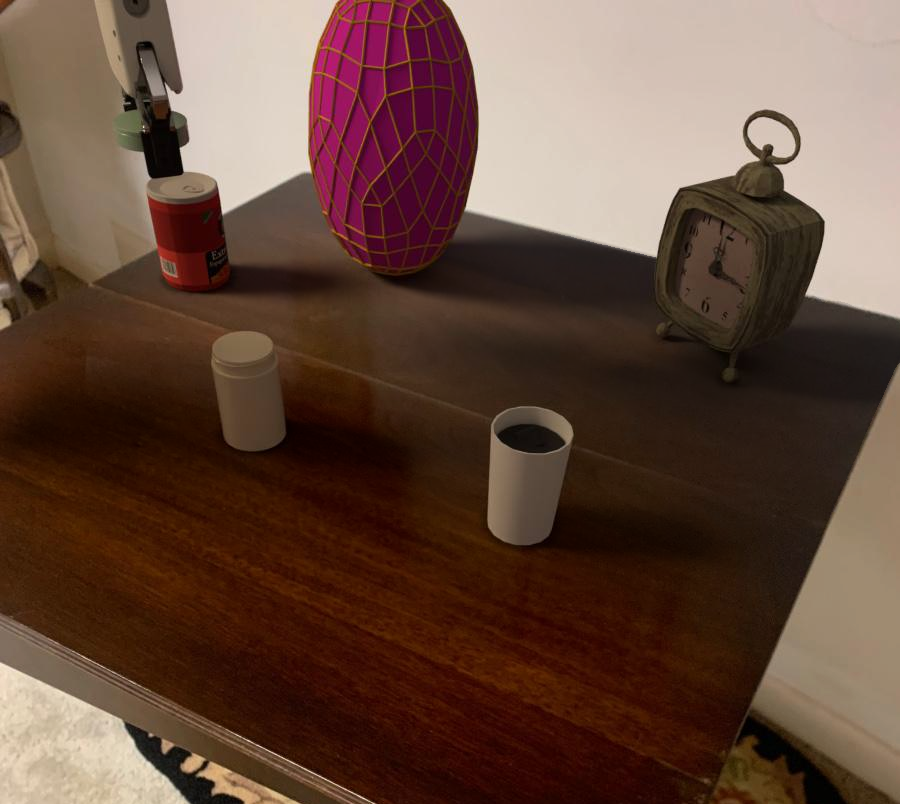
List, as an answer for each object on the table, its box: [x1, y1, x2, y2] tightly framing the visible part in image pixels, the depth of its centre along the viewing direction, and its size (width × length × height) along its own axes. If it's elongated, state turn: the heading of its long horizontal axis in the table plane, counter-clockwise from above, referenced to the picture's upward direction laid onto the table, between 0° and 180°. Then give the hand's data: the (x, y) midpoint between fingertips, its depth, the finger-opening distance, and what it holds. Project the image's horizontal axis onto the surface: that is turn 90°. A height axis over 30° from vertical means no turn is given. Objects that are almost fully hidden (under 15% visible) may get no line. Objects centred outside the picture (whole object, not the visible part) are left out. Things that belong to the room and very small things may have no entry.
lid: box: [112, 109, 191, 153], centre depth 83 cm, size 7×7×2 cm
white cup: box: [486, 405, 574, 546], centre depth 75 cm, size 7×7×10 cm
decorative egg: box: [307, 0, 480, 277], centre depth 100 cm, size 19×19×30 cm
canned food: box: [145, 171, 231, 293], centre depth 103 cm, size 8×8×11 cm
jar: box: [210, 330, 287, 452], centre depth 82 cm, size 6×6×9 cm
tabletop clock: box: [652, 109, 826, 384], centre depth 91 cm, size 14×9×25 cm, turn 32°
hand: (157, 160), depth 85 cm, fingers closed on lid, 6 cm apart
